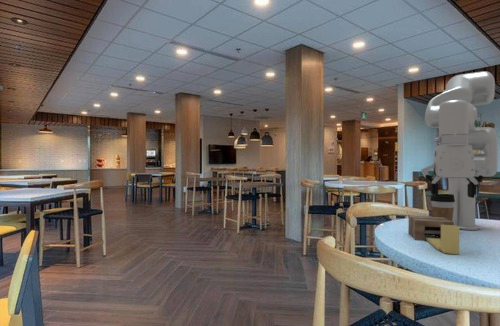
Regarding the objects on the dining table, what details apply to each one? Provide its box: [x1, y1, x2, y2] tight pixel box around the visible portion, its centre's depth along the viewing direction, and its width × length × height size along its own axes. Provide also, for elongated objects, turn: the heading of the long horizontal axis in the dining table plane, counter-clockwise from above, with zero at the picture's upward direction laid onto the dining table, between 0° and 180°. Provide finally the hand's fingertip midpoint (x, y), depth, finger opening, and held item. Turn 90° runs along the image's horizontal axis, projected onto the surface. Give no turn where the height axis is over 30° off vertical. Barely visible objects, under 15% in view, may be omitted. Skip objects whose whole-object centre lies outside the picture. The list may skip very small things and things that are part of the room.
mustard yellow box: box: [425, 225, 460, 255], centre depth 99 cm, size 17×5×8 cm, turn 165°
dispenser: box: [408, 215, 454, 241], centre depth 112 cm, size 11×12×7 cm
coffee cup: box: [430, 193, 455, 221], centre depth 122 cm, size 8×8×15 cm
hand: (452, 196), depth 94 cm, fingers open, 9 cm apart
